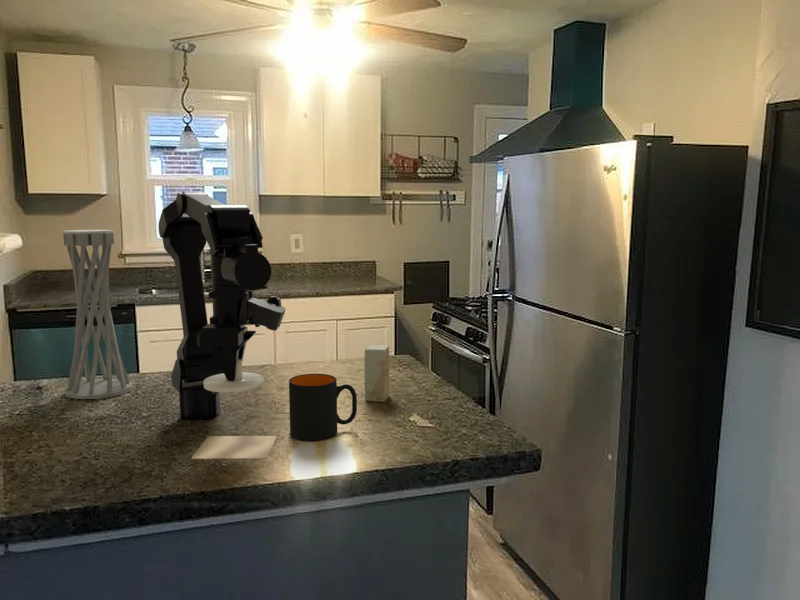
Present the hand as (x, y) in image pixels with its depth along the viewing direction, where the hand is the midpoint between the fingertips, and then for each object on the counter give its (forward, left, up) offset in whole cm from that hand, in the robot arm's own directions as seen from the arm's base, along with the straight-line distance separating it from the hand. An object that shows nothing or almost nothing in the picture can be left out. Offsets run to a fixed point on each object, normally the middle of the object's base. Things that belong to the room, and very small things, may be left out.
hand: (233, 378), depth 107 cm
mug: (+14, +7, -13) cm, 20 cm away
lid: (0, 0, -1) cm, 1 cm away
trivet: (0, 0, -12) cm, 12 cm away
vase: (-38, +35, -13) cm, 53 cm away
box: (+23, +29, -13) cm, 39 cm away
